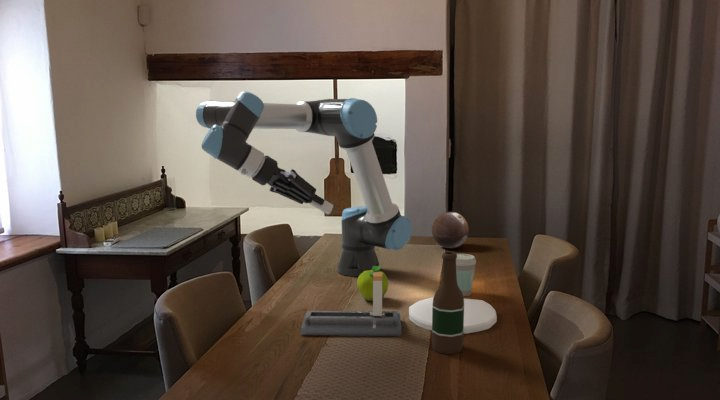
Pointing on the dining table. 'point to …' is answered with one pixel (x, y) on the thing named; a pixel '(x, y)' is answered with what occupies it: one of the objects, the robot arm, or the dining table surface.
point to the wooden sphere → (450, 230)
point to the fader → (377, 295)
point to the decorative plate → (475, 315)
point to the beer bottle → (448, 310)
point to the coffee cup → (465, 272)
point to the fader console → (351, 323)
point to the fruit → (370, 283)
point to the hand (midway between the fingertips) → (330, 209)
